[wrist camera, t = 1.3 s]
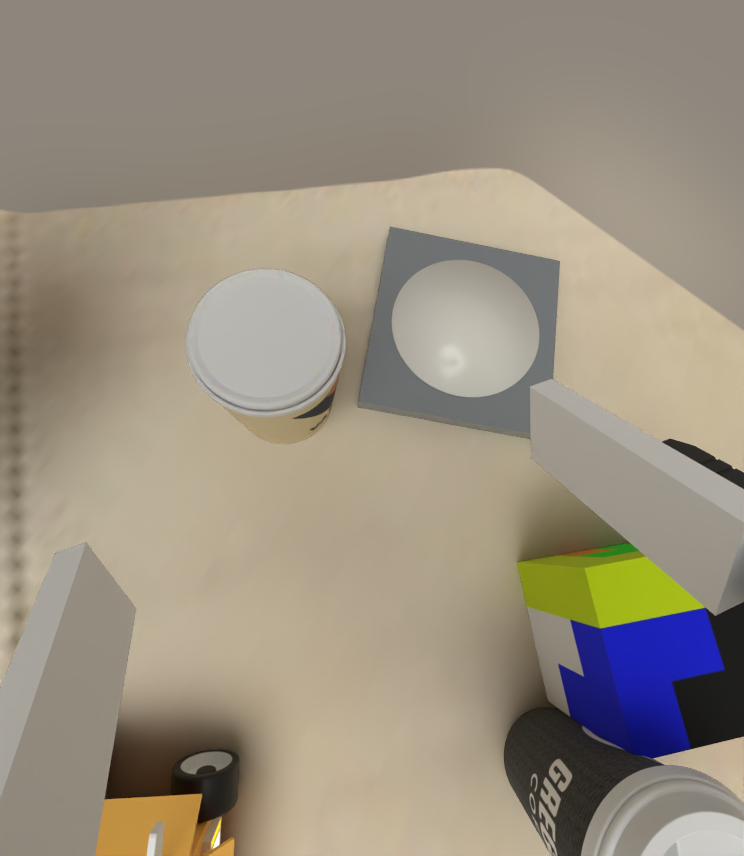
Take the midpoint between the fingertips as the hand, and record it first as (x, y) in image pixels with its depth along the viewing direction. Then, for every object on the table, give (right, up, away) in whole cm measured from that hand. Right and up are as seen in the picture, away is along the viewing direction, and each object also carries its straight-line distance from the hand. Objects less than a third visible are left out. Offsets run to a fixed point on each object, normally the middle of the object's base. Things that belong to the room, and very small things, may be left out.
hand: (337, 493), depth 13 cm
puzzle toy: (+18, -13, +22) cm, 32 cm away
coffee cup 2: (+14, -22, +19) cm, 32 cm away
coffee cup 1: (-6, +4, +25) cm, 26 cm away
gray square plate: (+9, +10, +27) cm, 31 cm away
